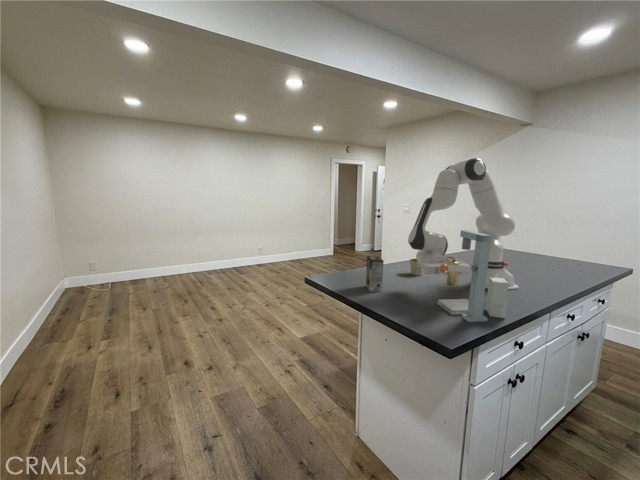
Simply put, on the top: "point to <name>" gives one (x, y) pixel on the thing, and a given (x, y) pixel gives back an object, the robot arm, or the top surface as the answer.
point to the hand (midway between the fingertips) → (454, 272)
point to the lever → (457, 268)
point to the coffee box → (374, 273)
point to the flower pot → (415, 267)
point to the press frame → (477, 273)
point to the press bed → (455, 306)
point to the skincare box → (497, 297)
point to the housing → (452, 274)
